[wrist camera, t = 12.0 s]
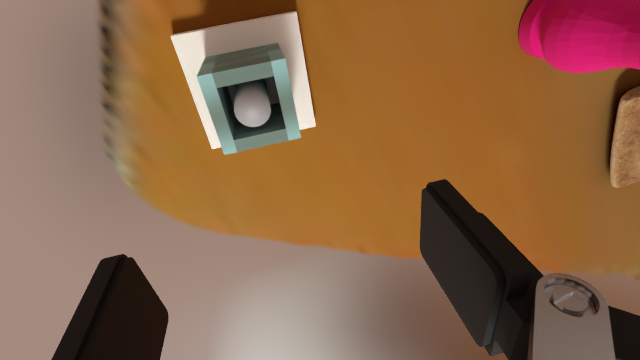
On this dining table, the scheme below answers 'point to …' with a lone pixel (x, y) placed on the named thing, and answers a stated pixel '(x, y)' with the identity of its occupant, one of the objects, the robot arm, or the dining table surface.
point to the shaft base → (241, 41)
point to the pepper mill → (583, 34)
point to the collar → (243, 69)
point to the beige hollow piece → (626, 141)
